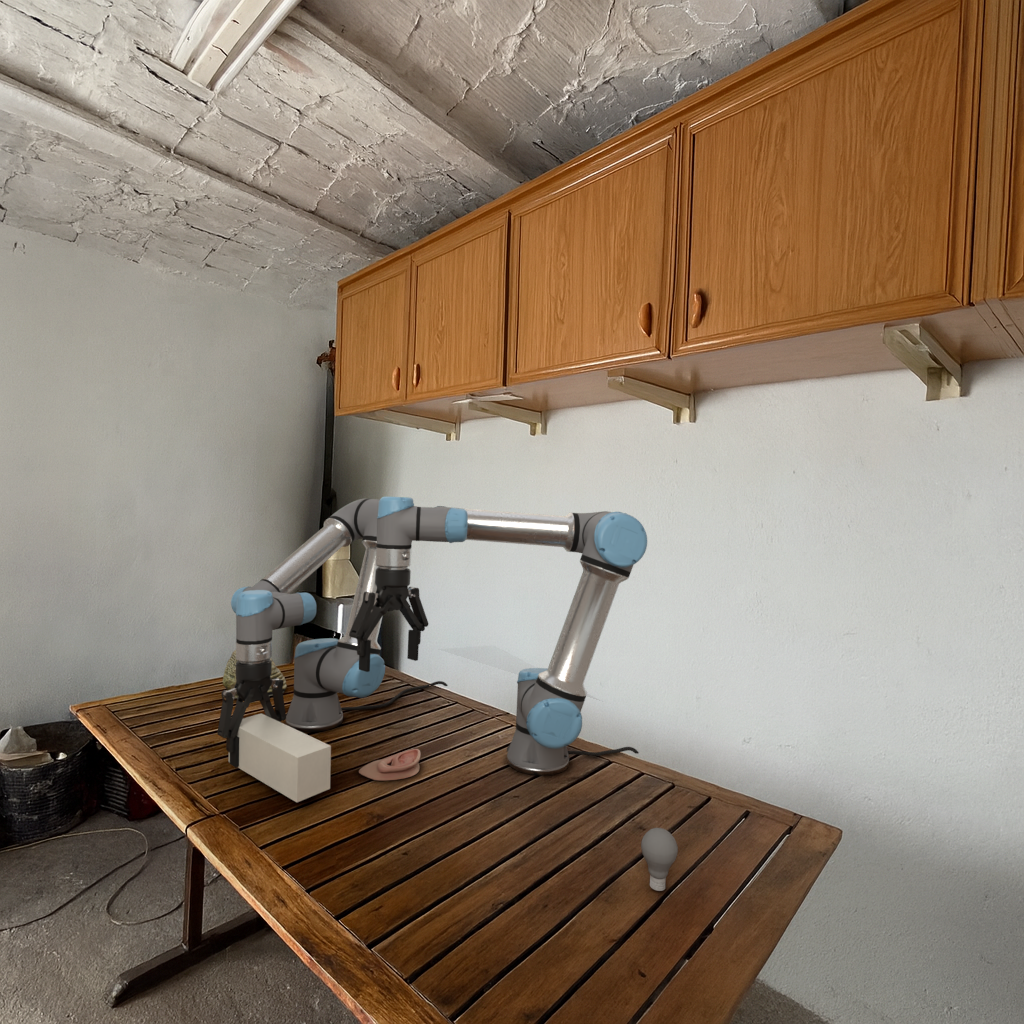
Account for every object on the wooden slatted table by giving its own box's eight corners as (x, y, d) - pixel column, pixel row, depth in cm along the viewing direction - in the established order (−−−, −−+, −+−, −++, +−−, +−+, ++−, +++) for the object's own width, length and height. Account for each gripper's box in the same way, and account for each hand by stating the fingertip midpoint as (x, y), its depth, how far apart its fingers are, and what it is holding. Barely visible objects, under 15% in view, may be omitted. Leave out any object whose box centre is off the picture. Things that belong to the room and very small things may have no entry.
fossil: (218, 695, 195) (220, 647, 195) (278, 685, 208) (279, 640, 207) (228, 703, 189) (230, 653, 188) (289, 692, 201) (290, 645, 201)
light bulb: (635, 878, 109) (637, 820, 109) (668, 878, 110) (671, 820, 109) (645, 900, 103) (648, 839, 103) (680, 900, 104) (683, 839, 103)
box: (228, 762, 143) (228, 722, 142) (260, 751, 149) (261, 713, 148) (296, 802, 126) (297, 757, 125) (330, 788, 132) (331, 745, 131)
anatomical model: (353, 759, 143) (374, 741, 154) (352, 777, 143) (373, 757, 154) (408, 767, 140) (426, 748, 152) (408, 785, 140) (425, 764, 152)
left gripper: (216, 672, 132) (215, 779, 133) (303, 654, 148) (302, 749, 149) (199, 665, 137) (198, 769, 138) (286, 648, 153) (284, 740, 154)
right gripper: (357, 572, 125) (353, 679, 126) (446, 566, 145) (442, 658, 145) (334, 569, 130) (330, 671, 130) (423, 563, 150) (419, 652, 150)
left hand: (252, 758), depth 144 cm, fingers closed on box, 8 cm apart
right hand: (389, 664), depth 138 cm, fingers open, 13 cm apart
